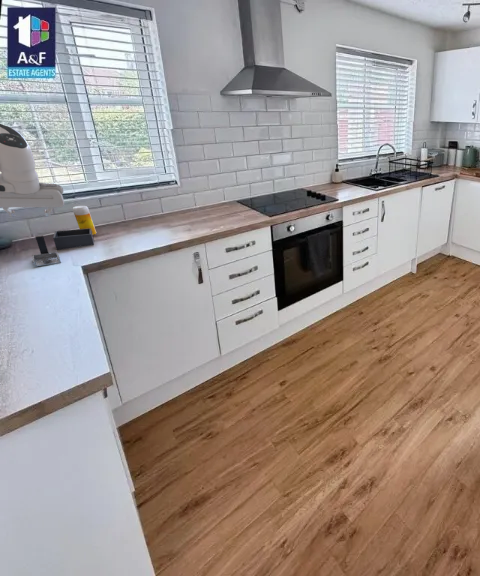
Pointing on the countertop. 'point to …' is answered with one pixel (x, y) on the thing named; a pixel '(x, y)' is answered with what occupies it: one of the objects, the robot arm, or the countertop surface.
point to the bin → (73, 238)
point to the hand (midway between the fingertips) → (30, 215)
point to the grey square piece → (44, 254)
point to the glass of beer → (84, 218)
